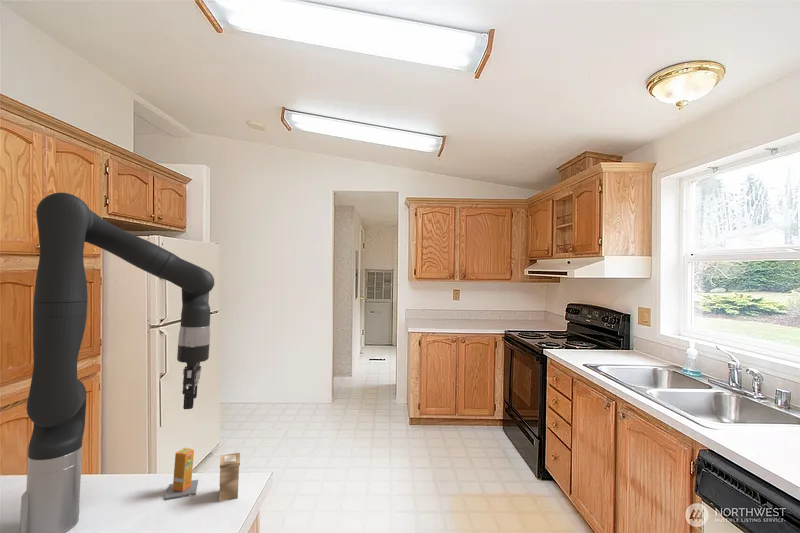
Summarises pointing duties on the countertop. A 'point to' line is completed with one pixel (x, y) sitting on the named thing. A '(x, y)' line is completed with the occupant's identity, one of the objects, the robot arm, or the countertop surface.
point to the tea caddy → (229, 476)
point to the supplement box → (183, 469)
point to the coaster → (177, 494)
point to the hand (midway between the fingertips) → (190, 403)
